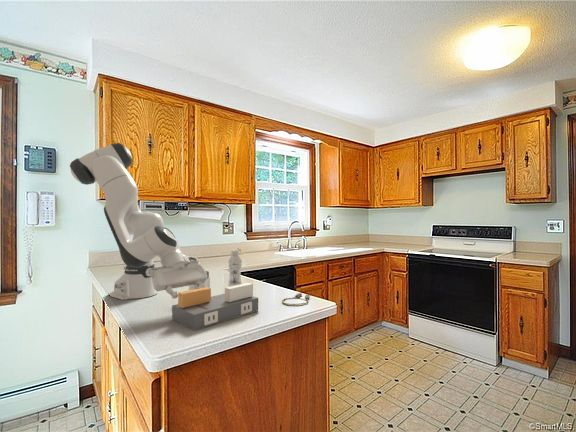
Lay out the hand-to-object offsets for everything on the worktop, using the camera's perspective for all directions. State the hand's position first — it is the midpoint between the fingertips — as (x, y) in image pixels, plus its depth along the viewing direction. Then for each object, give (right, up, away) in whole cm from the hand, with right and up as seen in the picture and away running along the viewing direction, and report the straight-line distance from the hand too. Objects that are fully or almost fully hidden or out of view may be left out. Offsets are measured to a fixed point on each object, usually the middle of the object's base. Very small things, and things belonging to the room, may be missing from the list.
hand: (187, 294), depth 108 cm
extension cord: (+41, -8, +19) cm, 46 cm away
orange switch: (+3, -2, -3) cm, 5 cm away
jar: (-2, -8, +22) cm, 24 cm away
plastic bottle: (+11, -8, +35) cm, 37 cm away
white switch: (+18, -2, +4) cm, 19 cm away
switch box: (+8, -8, +3) cm, 12 cm away
